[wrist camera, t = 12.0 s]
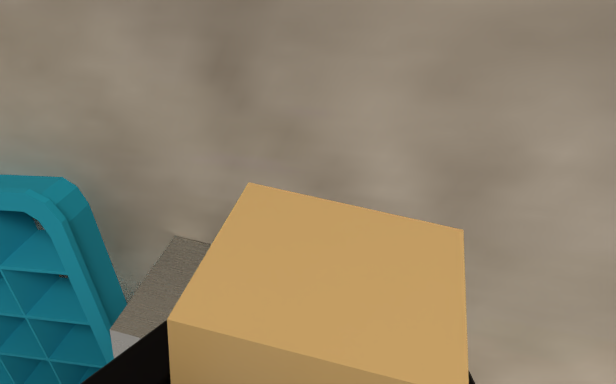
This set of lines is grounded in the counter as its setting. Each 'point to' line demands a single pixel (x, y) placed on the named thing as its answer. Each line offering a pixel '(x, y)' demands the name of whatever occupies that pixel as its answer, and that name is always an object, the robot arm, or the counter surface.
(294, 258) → the tan-tipped white bar
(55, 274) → the ice cube tray
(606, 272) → the counter surface
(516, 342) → the counter surface
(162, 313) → the gray rectangular block
